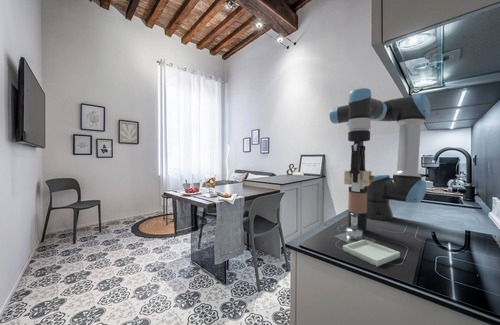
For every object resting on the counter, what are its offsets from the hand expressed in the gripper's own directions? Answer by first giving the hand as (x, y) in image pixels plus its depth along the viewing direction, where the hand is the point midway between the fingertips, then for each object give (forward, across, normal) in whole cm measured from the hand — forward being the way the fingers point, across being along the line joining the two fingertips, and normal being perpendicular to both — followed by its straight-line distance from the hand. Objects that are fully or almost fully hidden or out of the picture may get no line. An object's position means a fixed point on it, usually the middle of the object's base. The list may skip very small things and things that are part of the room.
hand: (357, 189), depth 80 cm
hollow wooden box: (-2, 0, 0) cm, 2 cm away
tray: (+21, +7, +5) cm, 23 cm away
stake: (+21, -4, -2) cm, 21 cm away
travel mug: (+21, -17, -3) cm, 27 cm away
